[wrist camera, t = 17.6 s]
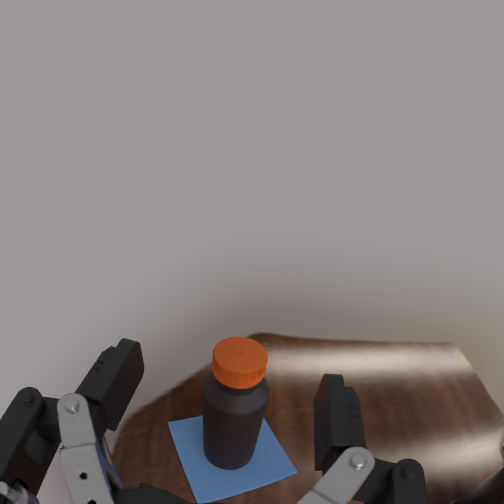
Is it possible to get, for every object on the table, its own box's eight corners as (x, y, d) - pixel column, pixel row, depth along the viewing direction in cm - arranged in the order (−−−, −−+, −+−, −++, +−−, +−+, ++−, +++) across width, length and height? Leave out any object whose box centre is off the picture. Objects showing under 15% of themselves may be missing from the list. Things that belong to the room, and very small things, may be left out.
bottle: (212, 476, 30) (215, 389, 21) (197, 436, 35) (194, 335, 27) (260, 463, 32) (291, 371, 24) (242, 426, 38) (260, 324, 30)
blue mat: (254, 403, 43) (254, 402, 42) (297, 472, 31) (298, 471, 31) (167, 423, 37) (167, 422, 37) (198, 504, 25) (198, 504, 25)
